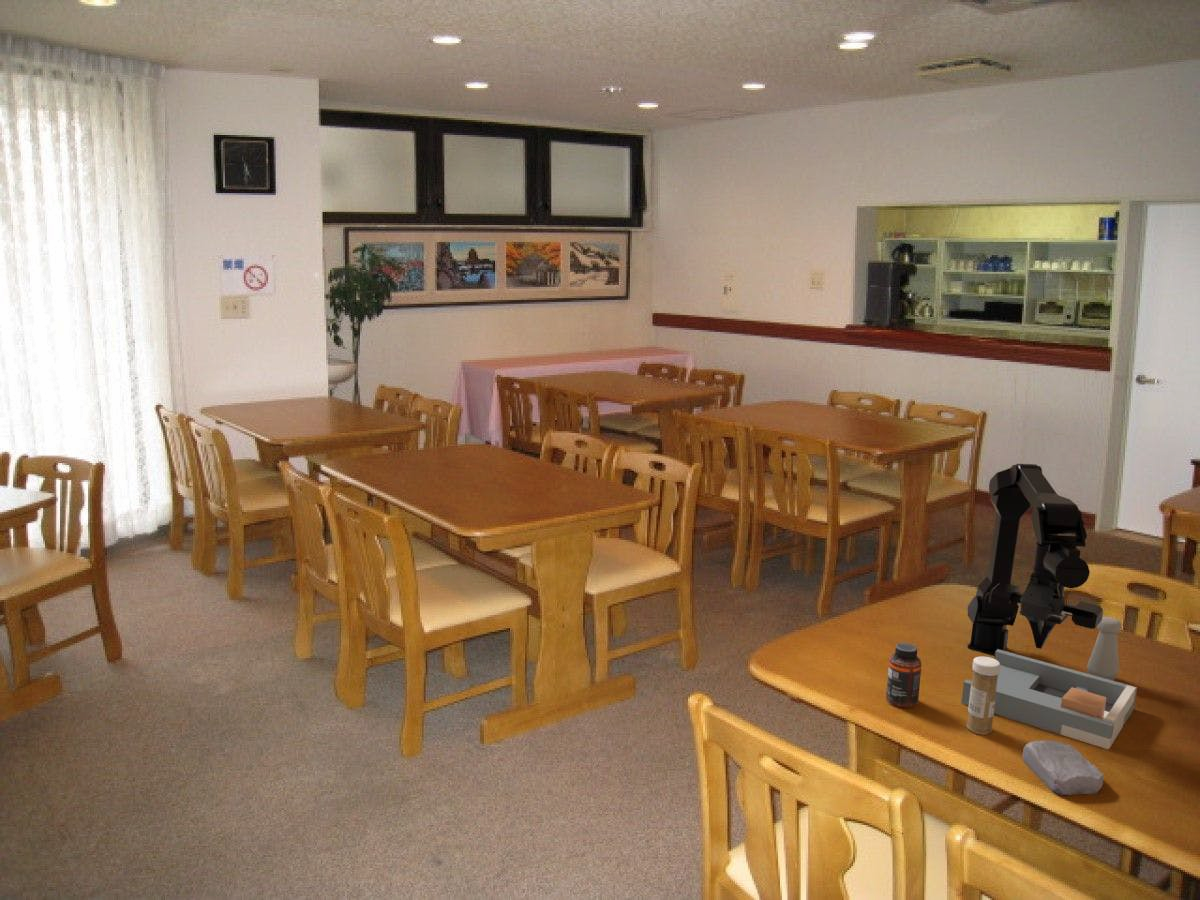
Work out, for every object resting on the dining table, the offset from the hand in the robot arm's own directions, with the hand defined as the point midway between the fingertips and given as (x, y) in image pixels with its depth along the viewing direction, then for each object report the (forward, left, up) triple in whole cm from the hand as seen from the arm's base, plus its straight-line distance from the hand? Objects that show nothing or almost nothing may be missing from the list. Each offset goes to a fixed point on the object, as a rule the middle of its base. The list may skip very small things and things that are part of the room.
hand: (1039, 647), depth 189 cm
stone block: (+11, -21, -13) cm, 27 cm away
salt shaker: (+7, +24, -13) cm, 28 cm away
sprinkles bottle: (-5, -14, -13) cm, 20 cm away
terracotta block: (+9, -1, -11) cm, 14 cm away
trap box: (+2, +4, -13) cm, 14 cm away
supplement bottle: (-20, -13, -13) cm, 27 cm away
